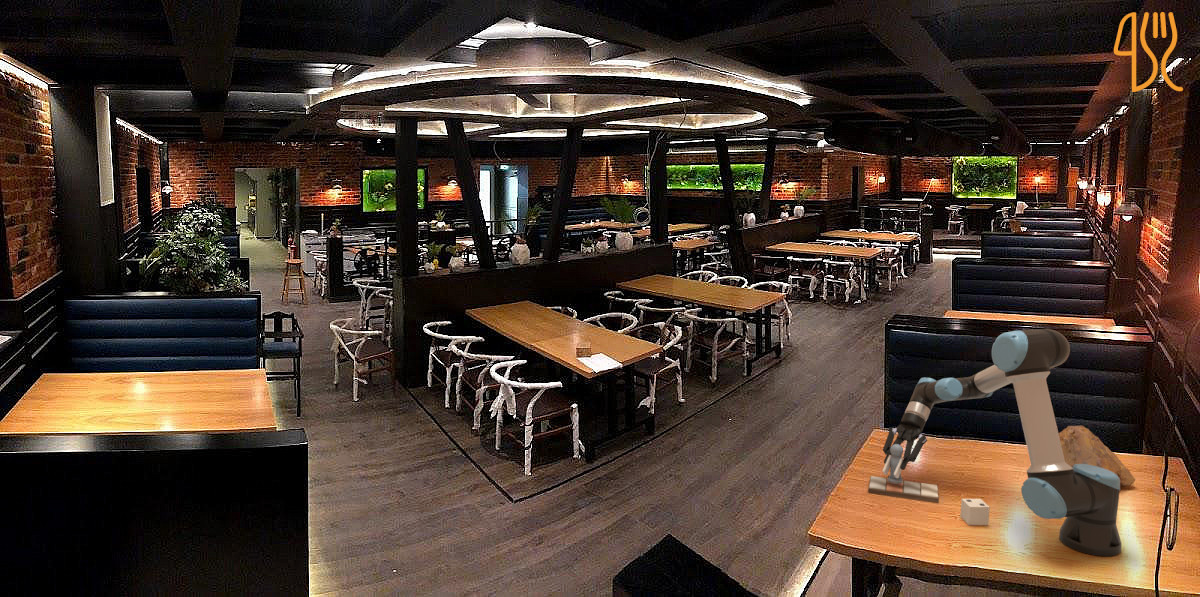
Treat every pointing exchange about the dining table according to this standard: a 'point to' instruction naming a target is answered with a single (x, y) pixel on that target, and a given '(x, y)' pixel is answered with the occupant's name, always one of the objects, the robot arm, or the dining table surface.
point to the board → (904, 489)
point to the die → (975, 511)
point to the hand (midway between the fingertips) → (890, 474)
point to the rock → (1091, 452)
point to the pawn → (895, 463)
